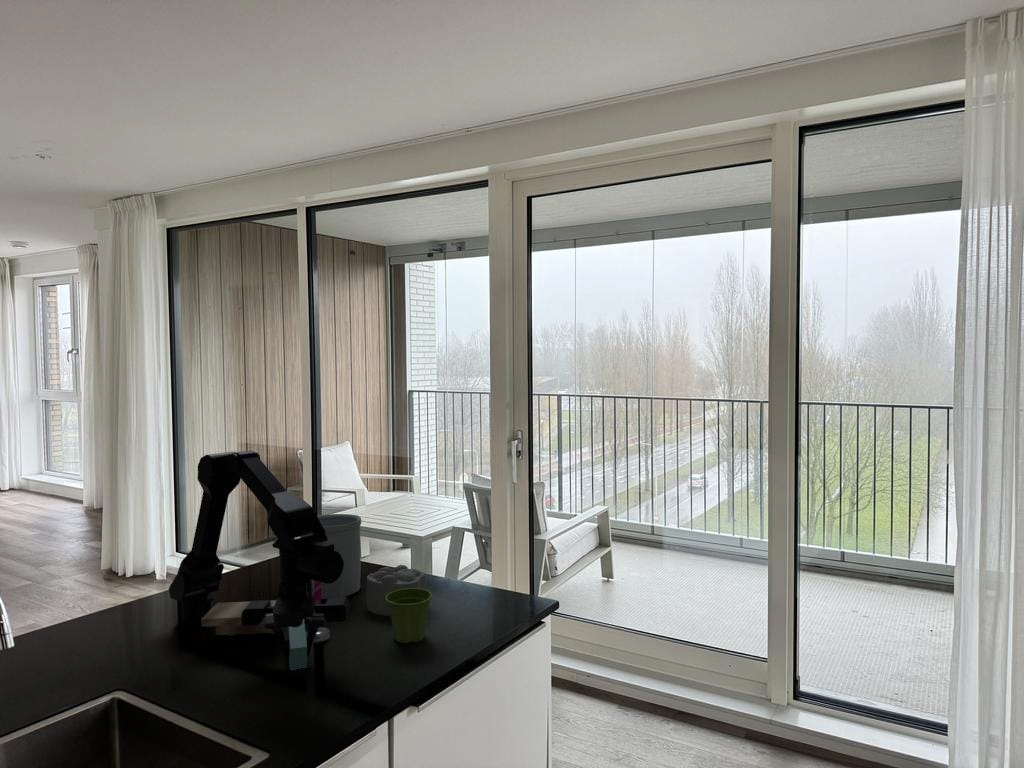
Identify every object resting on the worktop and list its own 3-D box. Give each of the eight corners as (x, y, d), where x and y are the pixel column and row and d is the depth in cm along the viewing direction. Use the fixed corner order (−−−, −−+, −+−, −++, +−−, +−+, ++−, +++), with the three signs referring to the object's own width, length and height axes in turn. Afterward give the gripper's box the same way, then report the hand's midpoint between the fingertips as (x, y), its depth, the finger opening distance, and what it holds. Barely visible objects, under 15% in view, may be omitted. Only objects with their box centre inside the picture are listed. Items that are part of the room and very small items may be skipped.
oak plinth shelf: (202, 651, 135) (201, 619, 135) (218, 633, 144) (217, 602, 144) (281, 648, 137) (280, 615, 136) (291, 630, 146) (290, 599, 145)
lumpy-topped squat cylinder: (414, 617, 152) (413, 578, 152) (358, 614, 155) (357, 575, 154) (429, 601, 162) (428, 564, 162) (377, 598, 165) (376, 562, 164)
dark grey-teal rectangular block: (289, 670, 126) (289, 648, 126) (288, 636, 142) (288, 616, 142) (306, 668, 127) (307, 646, 127) (303, 634, 143) (303, 615, 143)
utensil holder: (306, 582, 177) (304, 514, 177) (365, 579, 179) (364, 511, 178) (294, 602, 163) (292, 528, 162) (359, 598, 164) (357, 525, 164)
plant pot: (441, 632, 143) (440, 591, 143) (416, 650, 134) (415, 606, 134) (403, 626, 147) (402, 585, 147) (376, 643, 138) (375, 600, 138)
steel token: (302, 646, 138) (302, 638, 138) (306, 636, 143) (305, 628, 143) (328, 644, 139) (328, 636, 139) (330, 634, 144) (330, 626, 144)
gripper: (230, 590, 120) (232, 678, 121) (339, 585, 122) (341, 673, 122) (249, 570, 131) (251, 651, 132) (349, 566, 133) (351, 646, 133)
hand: (297, 656), depth 130 cm, fingers closed on dark grey-teal rectangular block, 3 cm apart
